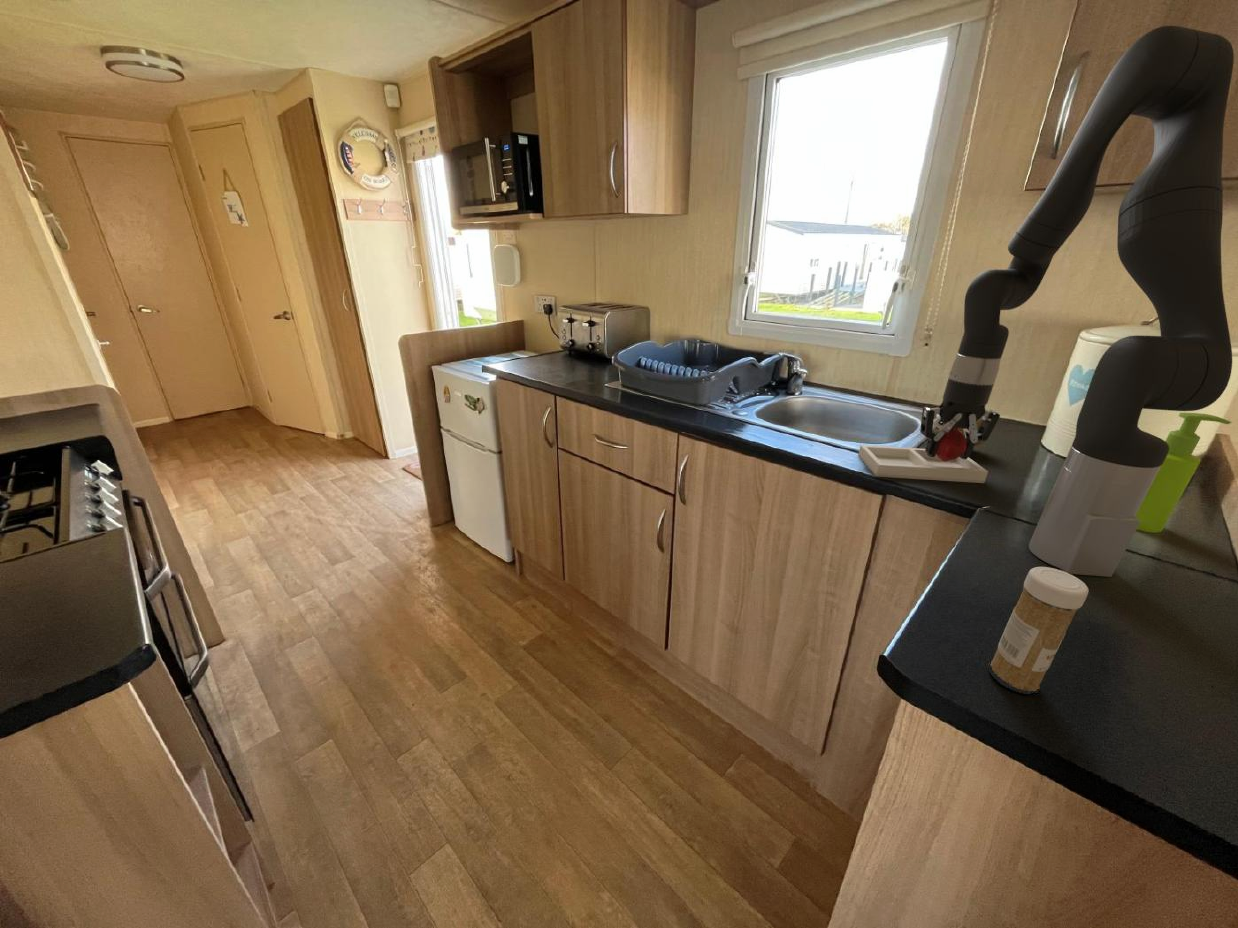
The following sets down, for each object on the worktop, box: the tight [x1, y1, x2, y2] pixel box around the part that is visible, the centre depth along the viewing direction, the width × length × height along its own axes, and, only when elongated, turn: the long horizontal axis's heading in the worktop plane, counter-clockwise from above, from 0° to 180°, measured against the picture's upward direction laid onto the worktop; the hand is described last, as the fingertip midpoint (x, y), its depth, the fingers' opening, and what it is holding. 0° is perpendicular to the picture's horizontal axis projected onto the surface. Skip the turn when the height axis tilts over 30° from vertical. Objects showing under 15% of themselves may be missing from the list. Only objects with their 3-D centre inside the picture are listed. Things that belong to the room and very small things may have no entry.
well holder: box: [857, 444, 989, 484], centre depth 104 cm, size 11×21×3 cm, turn 84°
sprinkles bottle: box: [989, 566, 1089, 692], centre depth 50 cm, size 5×5×13 cm
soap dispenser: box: [1135, 412, 1233, 534], centre depth 80 cm, size 6×7×20 cm
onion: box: [936, 428, 967, 462], centre depth 101 cm, size 6×6×8 cm
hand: (946, 456), depth 102 cm, fingers closed on onion, 5 cm apart
